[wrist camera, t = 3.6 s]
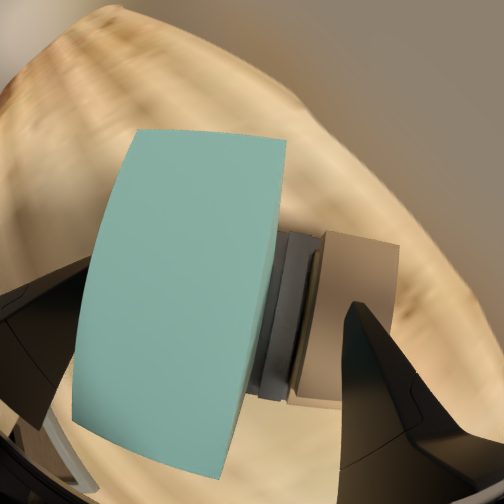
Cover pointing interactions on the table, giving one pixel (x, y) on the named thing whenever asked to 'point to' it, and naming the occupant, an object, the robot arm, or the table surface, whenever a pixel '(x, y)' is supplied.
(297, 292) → the rack
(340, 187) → the table surface
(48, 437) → the picture frame
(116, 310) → the teal rectangular block
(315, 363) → the offcut top
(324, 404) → the offcut middle
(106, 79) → the table surface
